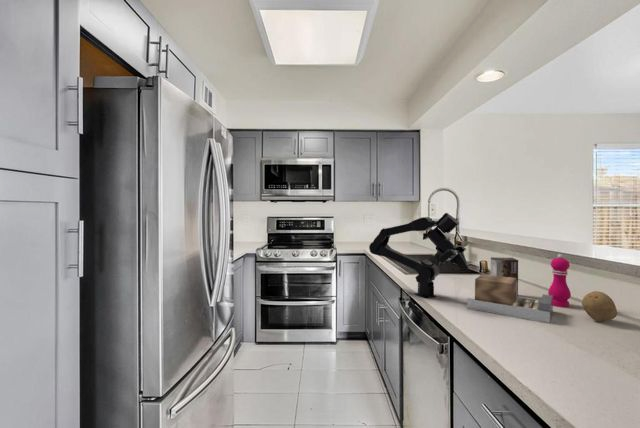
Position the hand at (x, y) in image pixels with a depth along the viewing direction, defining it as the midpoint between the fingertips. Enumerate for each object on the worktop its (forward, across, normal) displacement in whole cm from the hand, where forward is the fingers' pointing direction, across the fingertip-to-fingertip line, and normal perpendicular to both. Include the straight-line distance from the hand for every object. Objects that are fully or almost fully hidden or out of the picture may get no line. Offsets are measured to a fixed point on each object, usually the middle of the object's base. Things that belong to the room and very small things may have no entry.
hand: (468, 270), depth 133 cm
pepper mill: (+30, -20, +11) cm, 37 cm away
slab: (+14, 0, 0) cm, 14 cm away
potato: (+38, -5, +19) cm, 43 cm away
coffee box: (+16, -22, -3) cm, 27 cm away
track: (+19, 0, +1) cm, 19 cm away
